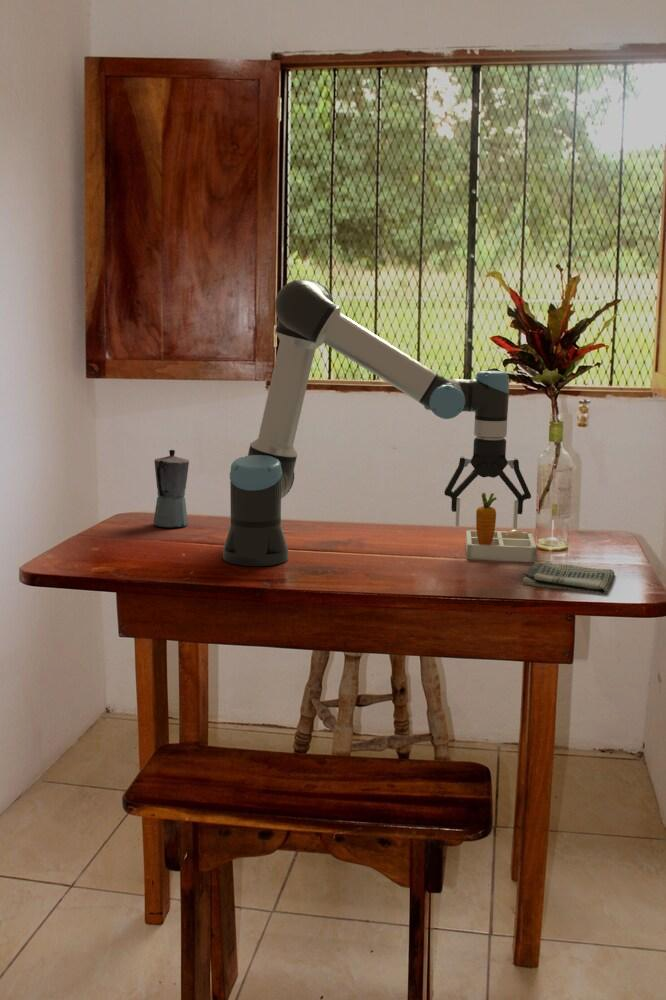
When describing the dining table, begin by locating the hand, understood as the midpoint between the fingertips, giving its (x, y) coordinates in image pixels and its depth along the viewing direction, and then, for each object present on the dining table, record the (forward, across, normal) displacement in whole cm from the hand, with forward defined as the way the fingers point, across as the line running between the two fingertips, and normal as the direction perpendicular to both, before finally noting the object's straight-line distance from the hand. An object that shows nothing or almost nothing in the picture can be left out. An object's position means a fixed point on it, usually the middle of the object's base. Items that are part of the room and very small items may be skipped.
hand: (485, 526), depth 250 cm
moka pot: (+7, +81, -18) cm, 83 cm away
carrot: (+7, 0, 0) cm, 7 cm away
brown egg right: (+7, -8, -8) cm, 13 cm away
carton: (+7, -4, -4) cm, 9 cm away
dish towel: (+8, -18, +18) cm, 27 cm away
